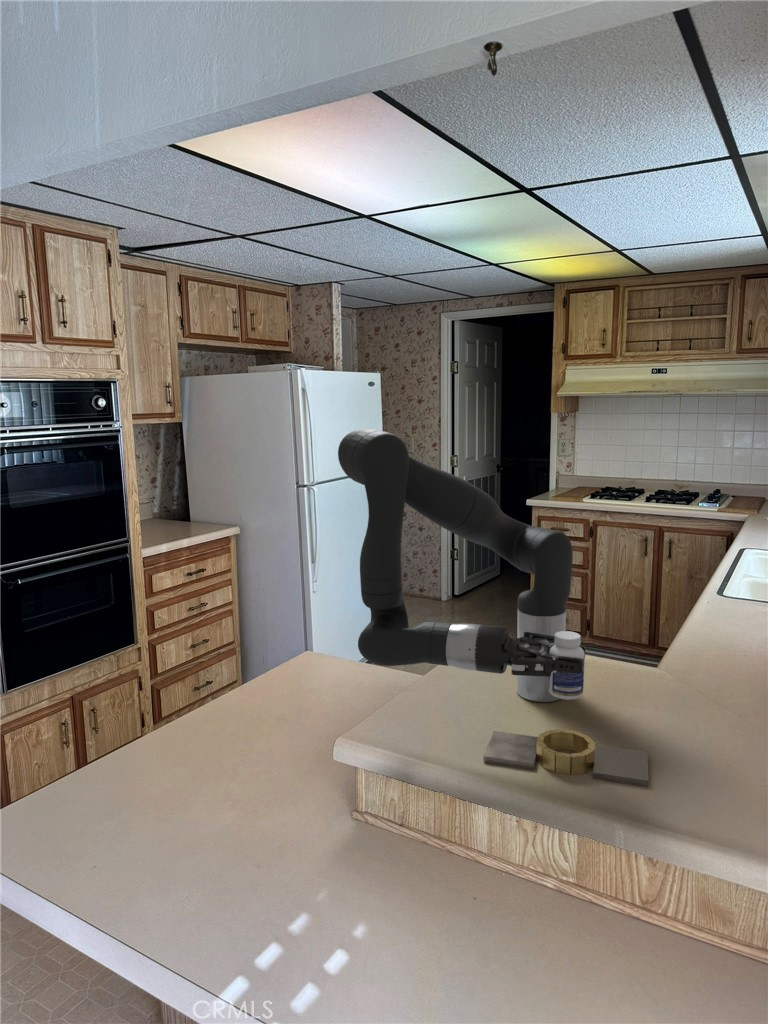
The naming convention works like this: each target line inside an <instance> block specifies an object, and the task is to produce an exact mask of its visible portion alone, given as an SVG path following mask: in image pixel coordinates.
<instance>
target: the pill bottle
mask: <svg viewBox="0 0 768 1024" xmlns="http://www.w3.org/2000/svg"><path fill="white" fill-rule="evenodd" d="M581 637H582V636H581V635H580V633H577V632H574V631H571V630H570V631H568V630H565V631H560V632H557V633H555V639H554V641H555V644H556V645H554V646H552V647H551V649H550V654H552V655H555V656H557V659H558V656H564V657H573V658H581V659H582V660H583V670H582V673H571V672H562V671H557V672H556V673H551V676H549V685H548V688H549V693H550V694H551V695H553V696H555V697H557V698H560V699H559V700H567V701H569V700H576V699H579V698H581V697H582V696H583V694H584V686H585V685H584V682H585V681H584V680H585V679H584V678H585V659H586V652H585V653H584V651H583V649H582V648H580V647H579V646H580V645H581V643H582V641H581Z"/></svg>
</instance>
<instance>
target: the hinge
mask: <svg viewBox="0 0 768 1024" xmlns="http://www.w3.org/2000/svg"><path fill="white" fill-rule="evenodd" d="M556 750H569V751H573V752H574V753H567V752H559V751H556ZM648 757H649V755H648V751H643V750H635V749H628V748H627V749H626V748H620V747H614V746H606V745H599V744H596V742H595V741H593V739H592V738H591V737H590V736H589V735H586V734H584V733H582V732H579V731H578V730H577V731H575V730H572V729H564V728H561V729H560V728H557V729H550V730H546V731H544V732H542V733H541V734H538V736H532V735H525V734H521V733H520V734H519V733H512V732H503V731H496V730H495V731H493V733H492V734H491V737H490V739H489V742H488V745H487V747H486V749H485V752H484V753H483V763H488V764H489V763H490V764H497V765H502V766H509V767H516V768H522V769H530V770H534V769H535V765H536V762H538V763H539V765H540V766H541V767H542V768H544V769H547V770H548V771H550V772H552V773H556V774H561V775H569V776H574V775H581V774H586V773H588V772H589V771H591V770H592V769H593V770H592V779H595V780H601V781H607V782H612V783H613V782H615V783H620V784H627V785H633V786H634V785H635V786H640V787H646V788H649V782H650V781H649V761H648V760H649V759H648Z"/></svg>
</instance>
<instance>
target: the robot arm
mask: <svg viewBox="0 0 768 1024" xmlns="http://www.w3.org/2000/svg"><path fill="white" fill-rule="evenodd" d="M338 445H339V446H338V449H337V457H338V462H339V465H340V467H341V469H342V471H343V472H344V474H346V476H347V477H348V478H349V479H351V480H352V481H353V482H356V483H358V484H361V485H362V486H364V489H365V493H366V500H367V509H368V520H367V527H366V532H365V536H364V539H363V543H362V545H361V549H360V556H359V580H360V592H361V593H360V595H361V600H362V604H364V605H365V607H367V608H369V610H370V621H369V623H368V624H367V625H366V626H365V627H364V629H362V631H361V632H360V635H359V637H358V639H357V648H358V651H359V653H360V654H361V656H362V657H363V658H364V659H365V660H367V661H368V662H370V663H372V664H373V665H378V666H383V667H384V666H385V667H397V666H398V667H399V666H407V665H408V666H409V665H410V666H411V665H416V664H431V665H439V666H446V667H452V668H457V669H461V670H466V671H467V670H468V671H477V672H484V673H491V674H492V673H493V674H498V675H499V674H500V675H503V674H504V673H505V672H506V670H507V668H508V666H510V667H511V675H513V676H516V694H517V695H519V696H520V697H522V698H523V699H525V700H528V701H531V702H532V701H533V702H537V703H538V702H539V703H549V702H555V701H559V700H561V699H560V698H557V697H555V696H553V695H551V694H550V693H549V688H548V685H549V676H551V673H556V672H557V671H562V672H571V673H582V670H583V660H582V659H581V658H573V657H564V656H558V659H557V656H555V655H552V654H550V649H551V647H552V646H554V645H556V644H555V641H554V639H555V633H557V632H560V631H566V627H567V626H566V623H567V622H566V619H567V618H566V617H567V614H566V613H567V612H566V609H567V602H568V600H569V597H570V593H571V586H572V575H573V574H572V572H573V560H574V559H573V557H574V555H573V546H572V542H571V539H570V538H569V537H568V535H567V534H566V533H564V532H562V531H559V530H554V529H549V528H546V527H545V528H544V527H540V526H534V525H530V524H527V523H524V522H522V521H520V520H517V519H514V518H512V517H510V516H509V515H507V514H506V513H504V512H503V510H502V509H501V508H500V506H499V505H498V503H497V502H496V500H495V499H494V498H493V497H492V496H491V495H489V494H488V493H486V492H485V491H484V490H483V489H480V488H479V487H477V486H475V485H474V484H472V483H471V482H469V481H467V480H465V479H463V478H462V477H459V476H457V475H455V474H452V473H450V472H447V471H445V470H442V469H440V468H437V467H434V466H431V465H429V464H426V463H424V462H421V461H418V460H417V459H416V458H413V457H412V456H410V455H409V451H408V448H407V445H406V443H405V441H403V439H402V438H401V437H399V436H398V435H396V434H393V433H391V432H388V431H384V430H379V429H377V428H375V429H374V428H369V427H368V428H365V427H364V428H363V427H362V428H358V429H354V430H353V431H351V432H349V433H347V434H346V435H345V436H344V437H343V438H342V439H341V441H340V442H339V444H338ZM405 505H408V506H409V507H410V508H412V509H413V510H414V511H416V512H418V513H419V514H420V515H422V516H423V517H425V518H427V519H428V520H430V521H431V522H433V523H435V524H437V525H438V526H440V527H441V528H443V529H445V530H447V531H449V532H451V533H452V534H455V535H456V536H458V537H461V538H463V539H465V540H467V541H469V542H472V543H474V544H477V545H479V546H482V547H485V548H487V549H489V550H491V551H493V552H494V553H495V554H496V555H498V556H499V557H501V558H502V559H504V560H505V561H507V562H508V563H509V564H511V565H512V566H514V567H515V568H517V569H518V570H519V571H522V572H524V573H527V574H530V575H533V576H534V578H533V579H534V580H533V588H532V589H527V590H524V591H522V592H520V593H519V594H518V596H517V615H516V616H517V625H516V627H517V629H516V630H517V637H513V638H511V637H510V631H509V630H508V628H507V627H505V626H495V625H485V624H476V623H451V622H440V621H439V622H438V621H423V622H421V623H419V624H418V625H416V626H415V627H410V626H409V618H408V617H409V616H408V613H407V608H406V603H405V601H404V597H403V580H402V579H403V575H402V573H403V572H402V536H403V535H402V531H403V523H404V522H403V521H404V515H405V514H404V511H405ZM579 647H580V648H582V649H583V651H584V653H585V654H586V649H587V648H586V646H585V645H584V644H580V646H579Z"/></svg>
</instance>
